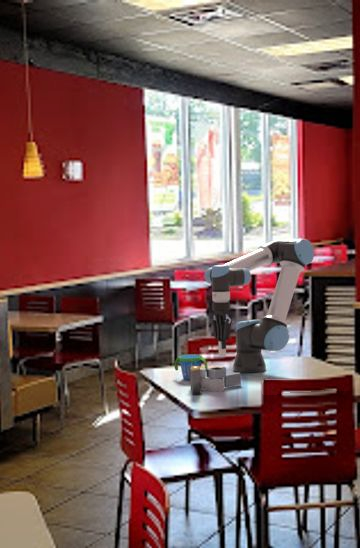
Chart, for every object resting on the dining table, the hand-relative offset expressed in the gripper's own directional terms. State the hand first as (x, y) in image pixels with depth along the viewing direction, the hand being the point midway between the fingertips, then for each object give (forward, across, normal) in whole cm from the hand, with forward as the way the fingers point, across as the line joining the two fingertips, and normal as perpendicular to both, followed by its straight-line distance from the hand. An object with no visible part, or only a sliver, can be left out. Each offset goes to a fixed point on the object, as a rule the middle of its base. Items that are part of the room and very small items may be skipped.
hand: (222, 356), depth 355 cm
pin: (+12, +10, -20) cm, 26 cm away
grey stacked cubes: (+12, +8, -4) cm, 15 cm away
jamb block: (+12, +1, -14) cm, 18 cm away
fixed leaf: (+12, +6, -12) cm, 18 cm away
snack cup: (+12, -18, -4) cm, 22 cm away
